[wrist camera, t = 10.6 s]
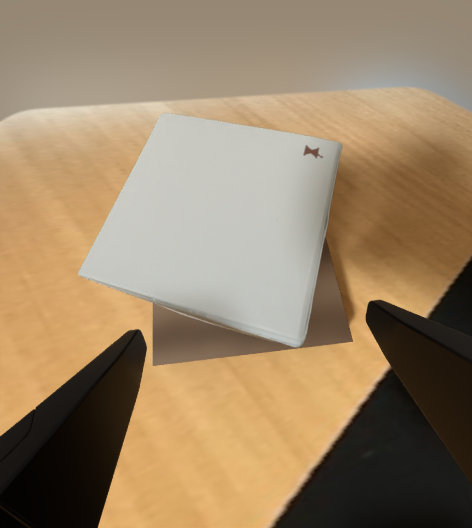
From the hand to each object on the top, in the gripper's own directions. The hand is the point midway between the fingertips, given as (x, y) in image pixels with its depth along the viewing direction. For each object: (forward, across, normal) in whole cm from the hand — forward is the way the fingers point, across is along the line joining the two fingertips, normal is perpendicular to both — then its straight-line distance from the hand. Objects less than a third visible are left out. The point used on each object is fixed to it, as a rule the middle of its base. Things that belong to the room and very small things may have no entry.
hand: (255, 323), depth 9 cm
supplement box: (+10, 0, +4) cm, 11 cm away
